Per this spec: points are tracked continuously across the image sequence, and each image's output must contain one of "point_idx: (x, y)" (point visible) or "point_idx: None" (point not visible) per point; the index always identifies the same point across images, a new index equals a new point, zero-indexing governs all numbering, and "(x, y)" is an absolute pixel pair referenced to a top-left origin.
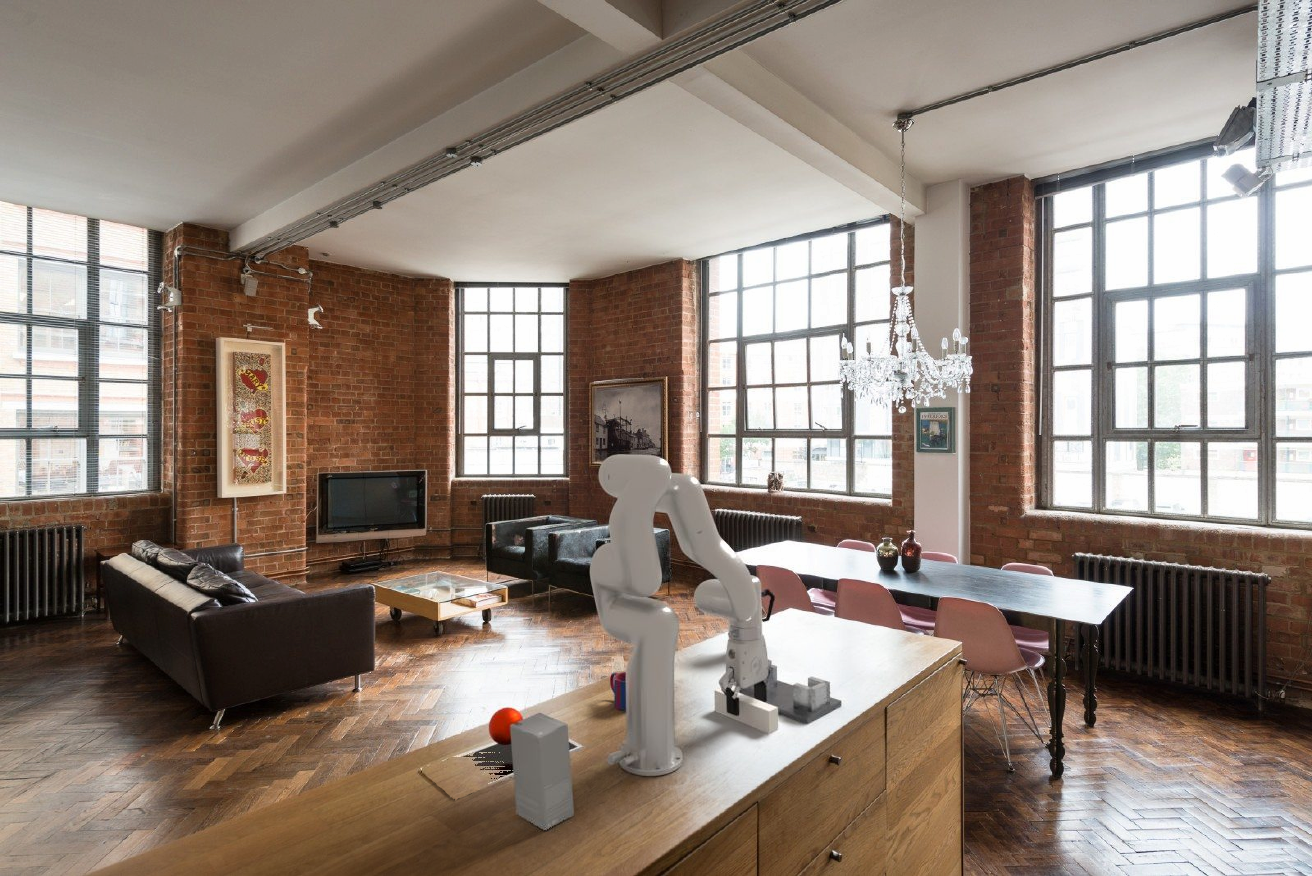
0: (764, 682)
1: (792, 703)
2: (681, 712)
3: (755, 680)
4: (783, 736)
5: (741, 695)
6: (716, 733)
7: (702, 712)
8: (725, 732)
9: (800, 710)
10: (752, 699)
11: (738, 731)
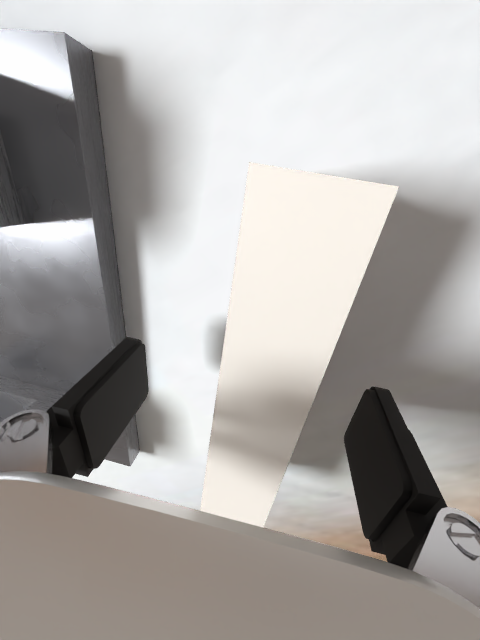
0: (48, 432)
1: (9, 244)
2: (338, 520)
3: (221, 588)
4: (348, 76)
5: (227, 457)
6: (472, 399)
7: (301, 480)
8: (443, 374)
9: (24, 159)
10: (237, 398)
11: (404, 333)
